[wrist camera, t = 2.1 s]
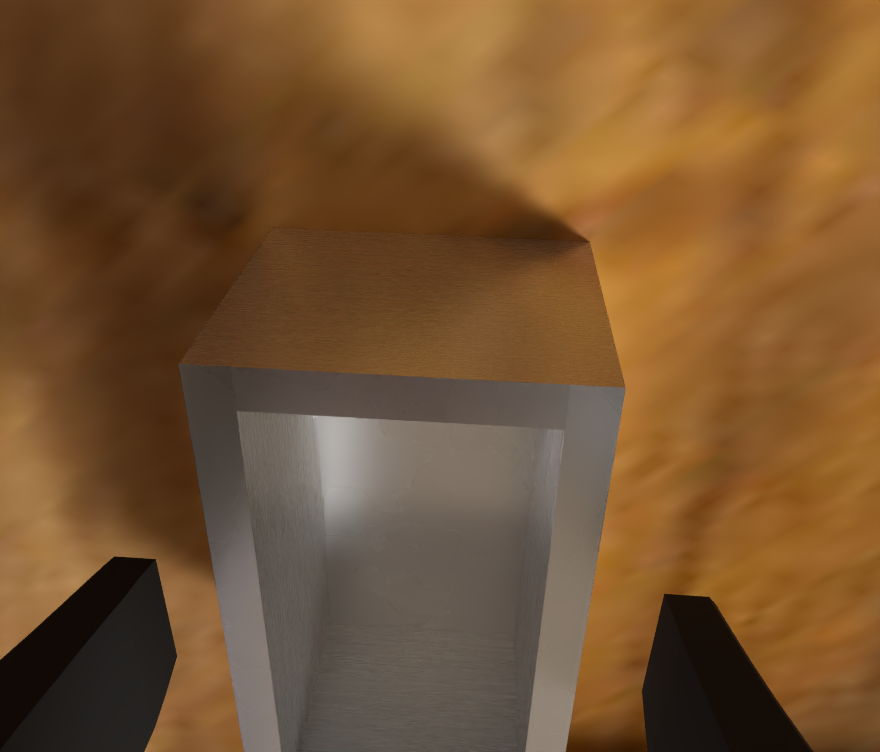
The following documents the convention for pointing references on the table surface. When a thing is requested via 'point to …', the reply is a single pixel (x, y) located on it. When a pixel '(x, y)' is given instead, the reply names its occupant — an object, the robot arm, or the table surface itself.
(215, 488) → the box
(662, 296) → the table surface
